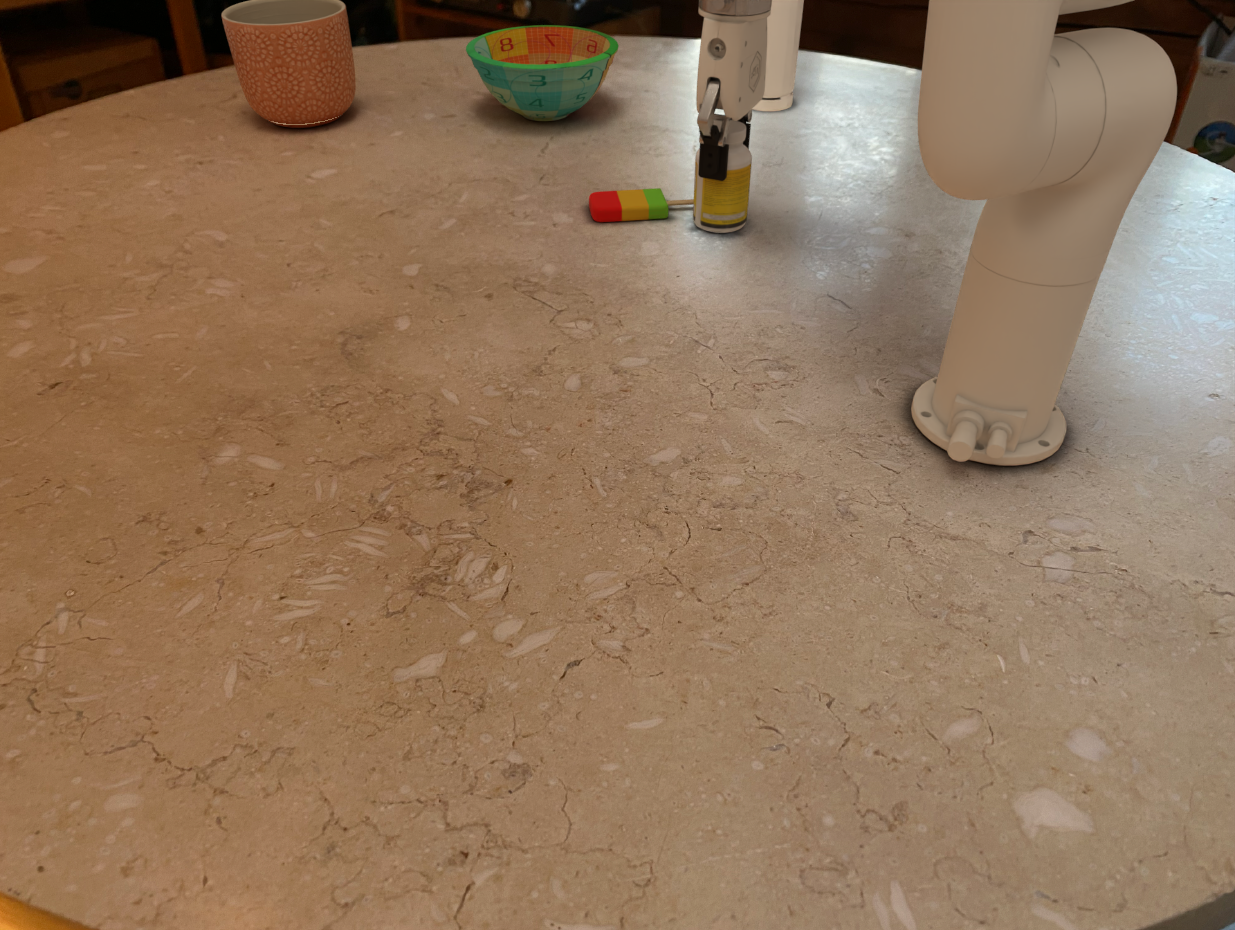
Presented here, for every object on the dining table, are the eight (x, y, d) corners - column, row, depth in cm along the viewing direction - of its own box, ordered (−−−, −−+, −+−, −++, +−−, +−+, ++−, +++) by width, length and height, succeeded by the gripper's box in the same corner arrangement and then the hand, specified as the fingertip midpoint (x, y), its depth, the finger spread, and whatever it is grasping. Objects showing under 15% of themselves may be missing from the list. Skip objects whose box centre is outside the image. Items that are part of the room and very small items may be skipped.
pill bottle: (752, 233, 110) (761, 134, 103) (699, 237, 110) (704, 138, 102) (738, 210, 115) (746, 114, 108) (686, 214, 115) (691, 118, 107)
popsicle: (587, 205, 117) (587, 190, 116) (705, 199, 119) (706, 184, 117) (592, 224, 113) (592, 209, 112) (715, 217, 114) (716, 202, 113)
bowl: (441, 119, 141) (433, 49, 135) (534, 82, 156) (530, 17, 149) (559, 150, 131) (556, 76, 125) (646, 107, 146) (648, 38, 139)
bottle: (763, 91, 152) (782, -110, 134) (802, 103, 147) (827, -104, 129) (729, 102, 147) (744, -104, 130) (769, 115, 143) (790, -98, 125)
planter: (386, 115, 143) (369, 7, 133) (291, 146, 133) (265, 31, 123) (320, 92, 152) (299, -11, 142) (225, 119, 142) (197, 11, 132)
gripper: (741, 21, 90) (728, 200, 101) (795, -16, 102) (778, 147, 113) (669, 13, 92) (664, 188, 103) (729, -23, 104) (719, 138, 115)
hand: (723, 165), depth 108 cm, fingers closed on pill bottle, 6 cm apart
